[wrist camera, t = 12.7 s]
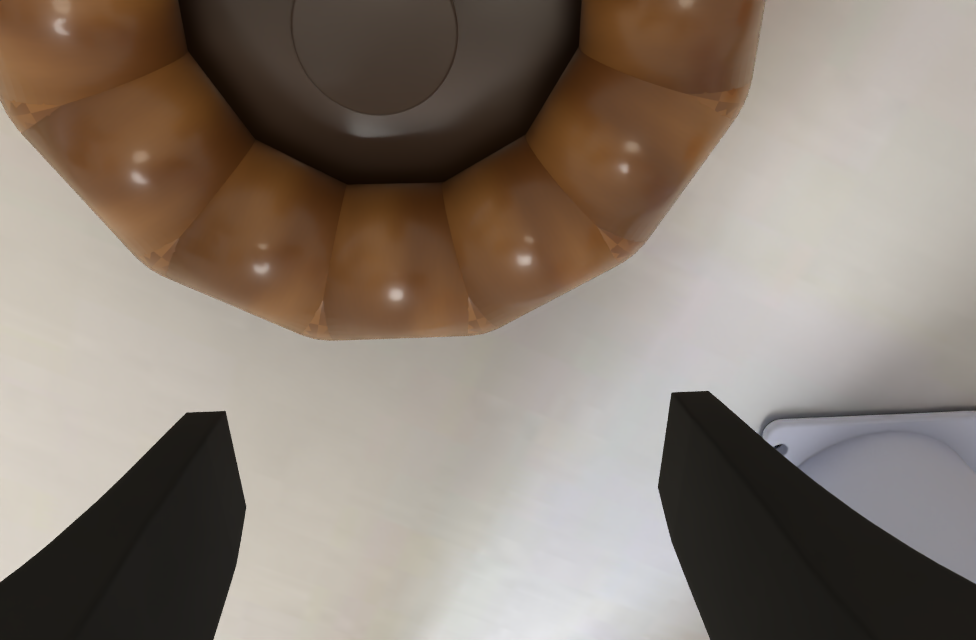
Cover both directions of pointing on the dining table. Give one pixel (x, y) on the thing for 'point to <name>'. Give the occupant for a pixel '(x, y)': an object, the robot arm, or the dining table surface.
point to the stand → (384, 77)
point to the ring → (376, 207)
